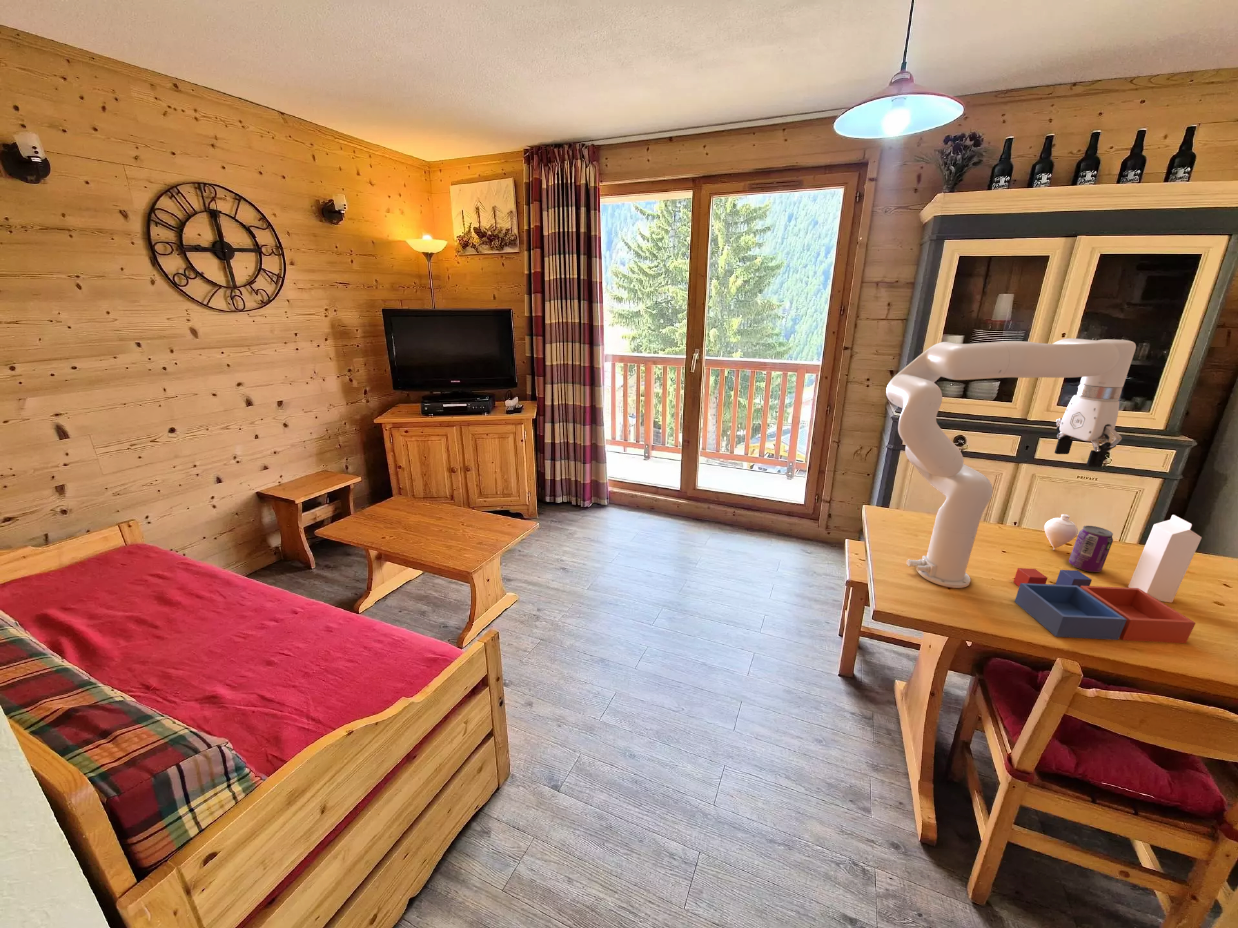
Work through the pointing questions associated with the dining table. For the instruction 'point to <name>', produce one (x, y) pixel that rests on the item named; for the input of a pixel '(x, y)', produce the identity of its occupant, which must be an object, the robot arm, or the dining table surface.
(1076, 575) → the blue block
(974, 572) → the dining table surface
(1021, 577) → the red block
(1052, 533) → the spinning top
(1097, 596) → the red bin
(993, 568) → the dining table surface
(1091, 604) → the blue bin
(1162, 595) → the milk
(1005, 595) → the dining table surface
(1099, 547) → the beverage can
